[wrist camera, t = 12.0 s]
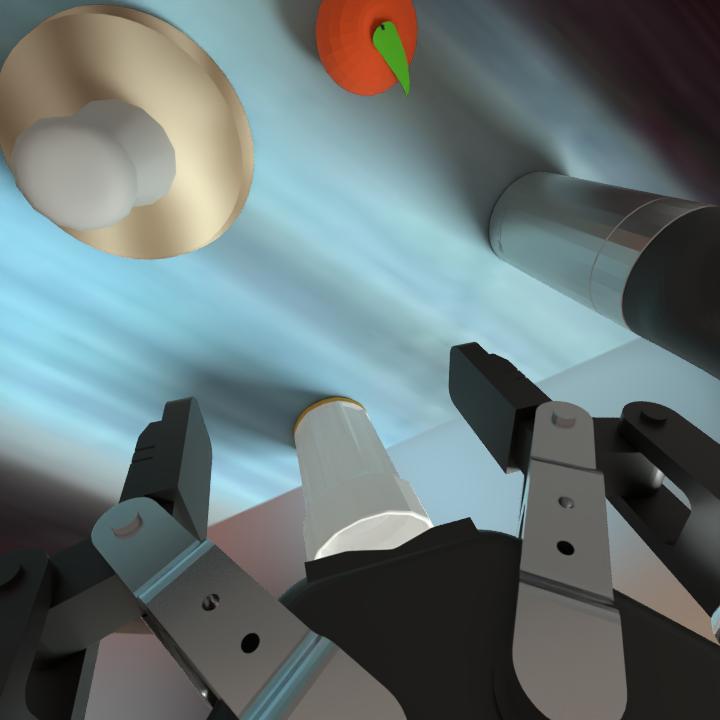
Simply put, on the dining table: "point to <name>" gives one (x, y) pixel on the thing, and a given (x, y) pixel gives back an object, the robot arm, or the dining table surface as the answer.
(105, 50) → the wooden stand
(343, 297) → the dining table surface
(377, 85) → the clementine
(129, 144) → the salt shaker
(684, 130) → the dining table surface
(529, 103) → the dining table surface
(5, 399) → the dining table surface
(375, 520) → the cup
